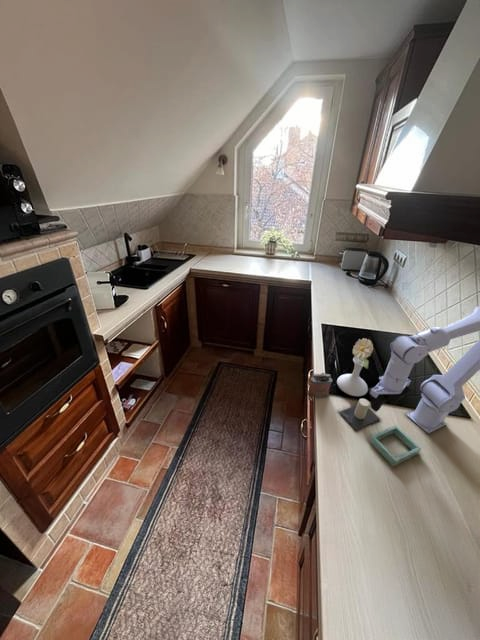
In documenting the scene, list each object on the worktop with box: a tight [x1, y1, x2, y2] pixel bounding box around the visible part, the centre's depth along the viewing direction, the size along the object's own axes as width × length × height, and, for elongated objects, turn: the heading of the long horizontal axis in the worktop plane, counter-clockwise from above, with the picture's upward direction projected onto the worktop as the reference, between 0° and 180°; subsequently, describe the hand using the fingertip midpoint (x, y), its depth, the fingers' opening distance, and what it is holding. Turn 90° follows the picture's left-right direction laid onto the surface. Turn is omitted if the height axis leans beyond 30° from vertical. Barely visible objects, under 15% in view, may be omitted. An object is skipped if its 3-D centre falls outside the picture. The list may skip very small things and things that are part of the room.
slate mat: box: [339, 404, 381, 431], centre depth 89 cm, size 11×8×1 cm
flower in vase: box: [336, 337, 374, 397], centre depth 94 cm, size 13×11×25 cm
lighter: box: [307, 372, 333, 398], centre depth 95 cm, size 8×3×10 cm, turn 92°
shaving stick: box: [354, 398, 371, 419], centre depth 87 cm, size 3×3×6 cm
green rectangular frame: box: [369, 425, 422, 467], centre depth 79 cm, size 11×9×2 cm
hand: (382, 405), depth 82 cm, fingers open, 7 cm apart
